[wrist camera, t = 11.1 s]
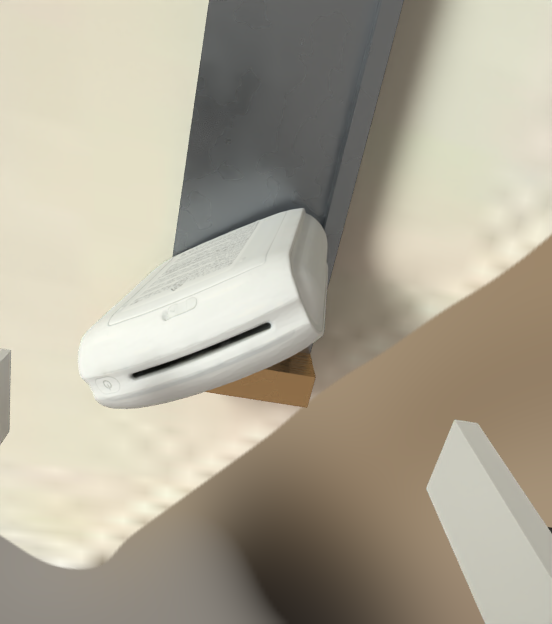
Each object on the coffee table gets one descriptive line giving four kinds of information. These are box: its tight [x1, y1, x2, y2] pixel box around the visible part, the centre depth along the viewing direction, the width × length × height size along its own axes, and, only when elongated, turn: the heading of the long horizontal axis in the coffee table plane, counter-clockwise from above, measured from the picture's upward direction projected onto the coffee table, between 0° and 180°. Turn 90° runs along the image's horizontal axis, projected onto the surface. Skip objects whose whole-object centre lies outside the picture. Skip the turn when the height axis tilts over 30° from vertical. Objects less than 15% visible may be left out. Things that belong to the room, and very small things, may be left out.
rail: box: [173, 0, 404, 408], centre depth 26 cm, size 32×9×6 cm, turn 168°
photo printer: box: [78, 208, 328, 409], centre depth 24 cm, size 10×4×12 cm, turn 114°
